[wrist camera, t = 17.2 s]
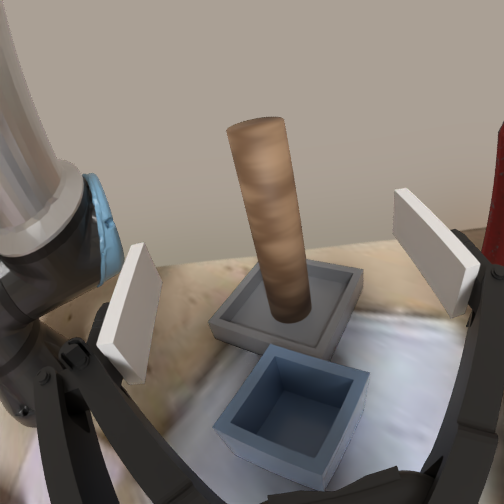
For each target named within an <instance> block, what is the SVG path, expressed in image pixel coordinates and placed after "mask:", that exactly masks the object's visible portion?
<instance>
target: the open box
mask: <svg viewBox="0 0 504 504" xmlns="http://www.w3.org/2000/svg"><path fill="white" fill-rule="evenodd" d="M369 376H370V373H369V372H366V371H362V370H358V369H354V368H350V367H347V366H343V365H339V364H336V363H332V362H329V361H325V360H322V359H318V358H315V357H312V356H308V355H305V354H301V353H298V352H295V351H292V350H288V349H285V348H282V347H279V346H276V345H273V344H270V345H269V346H268V348H267V349H266V351H265V352H264V354H263V355H262V357H261V358H260V360H259V361H258V363H257V364H256V366H255V367H254V369H253V370H252V372H251V373H250V375H249V376H248V378H247V379H246V380H245V382H244V383H243V385H242V386H241V388H240V389H239V391H238V392H237V393H236V395H235V396H234V398H233V399H232V400H231V402H230V403H229V405H228V406H227V407H226V409H225V410H224V412H223V413H222V414H221V416H220V417H219V419H218V420H217V421H216V423H215V424H214V425H213V427H212V428H213V429H214V430H215V431H216V433H217V434H218V435H219V436H220V437H221V439H222V440H223V441H224V442H225V444H226V445H227V446H228V447H229V448H230V449H231V451H232V452H233V453H234V454H235V455H236V456H238V457H240V458H242V459H244V460H246V461H248V462H250V463H253V464H255V465H257V466H259V467H261V468H263V469H266V470H268V471H270V472H272V473H275V474H277V475H279V476H282V477H284V478H286V479H289V480H291V481H294V482H296V483H299V484H301V485H304V486H306V487H309V488H312V489H314V490H317V491H325V489H326V487H327V486H328V484H329V482H330V480H331V478H332V476H333V474H334V472H335V471H336V469H337V467H338V465H339V463H340V461H341V459H342V457H343V455H344V453H345V451H346V449H347V446H348V444H349V442H350V440H351V438H352V436H353V434H354V431H355V429H356V427H357V425H358V423H359V420H360V418H361V416H362V413H363V411H364V406H365V401H366V395H367V389H368V382H369Z"/></svg>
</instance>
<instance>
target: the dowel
mask: <svg viewBox="0 0 504 504" xmlns="http://www.w3.org/2000/svg"><path fill="white" fill-rule="evenodd" d="M226 131H227V136H228V139H229V144H230V148H231V151H232V155H233V160H234V164H235V168H236V172H237V176H238V180H239V184H240V188H241V192H242V196H243V200H244V204H245V208H246V212H247V216H248V221H249V225H250V229H251V233H252V237H253V241H254V245H255V249H256V253H257V258H258V262H259V266H260V270H261V274H262V278H263V282H264V286H265V290H266V295H267V299H268V303H269V307H270V311H271V315H272V316H273V318H274V319H275V320H277V321H279V322H281V323H286V324H291V323H296V322H299V321H302V320H303V319H305V318H306V317H307V316H308V315H309V314H310V312H311V309H312V304H311V295H310V287H309V278H308V271H307V263H306V255H305V248H304V241H303V235H302V234H303V233H302V226H301V219H300V213H299V206H298V200H297V194H296V187H295V181H294V175H293V169H292V162H291V157H290V151H289V145H288V139H287V134H286V128H285V123H284V119H283V118H281V117H262V118H256V119H252V120H247V121H243V122H240V123H237V124H235V125H233V126H231V127H229V128H228V129H227V130H226Z"/></svg>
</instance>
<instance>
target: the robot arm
mask: <svg viewBox="0 0 504 504" xmlns="http://www.w3.org/2000/svg"><path fill="white" fill-rule="evenodd" d="M393 235H394V236H395V238H396V239H397V240H398V242H399V243H400V245H401V246H402V247H403V249H404V250H405V251H406V253H407V254H408V255H409V257H410V258H411V260H412V261H413V262H414V264H415V265H416V267H417V268H418V269H419V271H420V272H421V274H422V275H423V277H424V278H425V279H426V281H427V282H428V284H429V285H430V287H431V288H432V290H433V291H434V293H435V294H436V296H437V297H438V299H439V300H440V302H441V303H442V305H443V306H444V308H445V310H446V311H447V313H448V314H449V316H450V318H454V317H456V316H459V315H462V314H465V311H466V308H467V305H468V304H469V305H470V307H471V308H472V312H471V315H470V317H469V320H468V322H467V325H466V327H468V331H467V336H466V340H465V345H464V350H463V354H462V358H461V362H460V366H459V370H458V374H457V378H456V381H455V385H454V388H453V392H452V395H451V398H450V401H449V405H448V408H447V411H446V414H445V417H444V420H443V422H442V425H441V428H440V431H439V433H438V436H437V439H436V441H435V444H434V446H433V449H432V451H431V453H430V455H429V456H428V458H427V460H426V462H425V463H424V465H423V467H422V469H421V471H420V472H416V471H405V470H401V471H398V467H397V466H395V467H392V468H389V469H386V470H382V471H379V472H376V473H373V474H369V475H366V476H364V477H363V478H361V479H359V480H357V481H355V482H353V483H351V484H349V485H347V486H345V487H343V488H341V489H339V490H337V491H295V492H288V493H282V494H275V495H267V496H268V500H267V501H265V502H262V503H260V504H478V502H479V499H480V497H481V494H482V491H483V489H484V486H485V483H486V480H487V477H488V474H489V471H490V468H491V465H492V462H493V458H494V455H495V452H496V448H497V444H498V435H497V434H496V433H495V428H496V424H497V420H498V415H499V411H500V406H501V401H502V396H503V390H504V266H501V265H497V264H491V263H490V261H489V260H488V259H487V258H486V257H485V256H484V255H483V254H482V253H481V251H480V250H479V249H478V248H477V247H475V245H474V244H473V243H472V242H470V240H469V239H468V238H467V237H466V235H465V234H463V233H461V232H460V231H458V230H456V229H453V230H449V229H448V228H447V227H446V226H445V225H444V223H443V222H442V221H441V220H440V219H439V218H438V217H437V216H436V215H435V214H434V213H433V212H432V211H431V210H430V209H429V208H427V207H426V206H425V205H424V204H423V203H422V202H421V201H420V200H419V199H418V198H417V197H416V196H415V195H414V194H413V193H412V192H411V191H409V190H408V189H407V188H402V189H397V190H394V216H393ZM120 271H121V273H120V276H119V278H118V281H117V284H116V287H115V289H114V292H113V295H112V298H111V301H110V302H108V303H103V305H102V306H101V307H100V309H99V310H98V311H97V314H96V317H95V319H94V321H95V322H93V325H92V329H91V331H90V334H89V337H88V340H87V343H85V342H84V340H82V339H81V338H78V337H76V338H72V339H70V340H68V339H67V338H66V337H64V336H62V335H61V334H59V333H58V332H56V331H55V330H53V329H52V328H50V327H49V326H47V325H46V324H44V323H43V322H41V321H40V320H39V318H40V317H41V316H43V315H45V314H47V313H48V312H50V311H52V310H54V309H56V308H58V307H60V306H61V305H63V304H65V303H67V302H69V301H71V300H73V299H75V298H77V297H79V296H81V295H82V294H84V293H86V292H88V291H90V290H92V289H94V288H96V287H97V288H98V287H100V286H101V285H102V284H103V283H104V282H105V281H107V280H108V279H110V278H112V277H113V276H115V275H117V274H118V273H119V272H120ZM162 283H163V282H162V280H161V278H160V276H159V273H158V271H157V269H156V267H155V265H154V263H153V261H152V258H151V256H150V254H149V252H148V249H147V247H146V245H145V243H144V242H142V243H138V244H134V245H131V247H130V249H129V252H128V255H127V257H126V260H125V262H124V253H123V248H122V245H121V241H120V238H119V235H118V231H117V228H116V226H115V223H114V222H113V217H112V215H111V210H110V207H109V204H108V201H107V199H106V196H105V193H104V190H103V188H102V185H101V183H100V181H99V179H98V177H97V176H96V175H95V174H94V173H89V174H83V175H81V173H80V171H79V170H78V168H77V167H76V166H75V165H74V164H72V163H71V162H68V161H66V160H60V159H57V158H56V155H55V153H54V151H53V149H52V146H51V144H50V142H49V140H48V137H47V135H46V132H45V130H44V128H43V125H42V123H41V120H40V118H39V116H38V113H37V110H36V108H35V105H34V102H33V100H32V97H31V94H30V92H29V89H28V86H27V84H26V80H25V78H24V75H23V72H22V69H21V66H20V62H19V60H18V56H17V53H16V50H15V46H14V43H13V39H12V36H11V32H10V28H9V25H8V21H7V17H6V12H5V8H4V4H3V0H0V401H1V402H2V404H3V405H4V407H5V409H6V410H7V411H8V413H9V414H10V415H11V416H13V417H14V418H15V419H16V420H17V421H19V422H20V423H21V424H23V425H25V426H28V427H37V432H38V440H39V447H40V453H41V459H42V465H43V470H44V475H45V480H46V485H47V489H48V493H49V497H50V501H51V504H120V503H119V501H118V498H117V495H116V493H115V490H114V487H113V485H112V482H111V479H110V476H109V473H108V471H107V468H106V465H105V462H104V458H103V455H102V452H101V449H100V445H99V442H98V439H97V435H96V431H95V428H94V424H93V420H92V416H91V412H92V414H93V416H94V417H95V419H96V421H97V423H98V424H99V426H100V428H101V429H102V431H103V433H104V434H105V436H106V437H107V439H108V441H109V442H110V444H111V445H112V447H113V448H114V450H115V451H116V453H117V454H118V456H119V457H120V459H121V460H122V462H123V463H124V465H125V466H126V468H127V469H128V470H129V472H130V473H131V475H132V476H133V477H134V479H135V480H136V481H137V483H138V484H139V485H140V487H141V488H142V489H143V491H144V492H145V493H146V495H147V496H148V497H149V498H150V500H151V501H152V502H153V503H154V504H227V503H226V502H224V501H223V500H222V499H221V498H219V497H218V496H217V495H216V494H215V493H214V492H213V491H212V490H211V489H210V488H209V487H208V486H207V485H206V484H205V483H204V482H203V481H202V480H201V479H200V478H199V477H198V476H197V475H196V474H195V473H194V472H193V471H192V470H191V469H190V468H189V466H188V465H187V464H186V463H185V462H184V461H183V460H182V459H181V458H180V457H179V456H178V454H177V453H176V452H175V451H174V450H173V449H172V448H171V447H170V445H169V444H168V443H167V442H166V441H165V440H164V438H163V437H162V436H161V435H160V434H159V433H158V431H157V430H156V429H155V428H154V426H153V425H152V424H151V423H150V422H149V420H148V419H147V418H146V416H145V415H144V414H143V413H142V411H141V410H140V409H139V407H138V406H137V405H136V404H135V402H134V401H133V400H132V398H131V397H130V396H129V394H128V393H127V391H126V390H125V389H124V388H123V386H122V385H121V384H122V378H124V379H125V381H126V382H127V383H128V384H129V385H132V384H145V378H146V371H147V365H148V358H149V352H150V346H151V340H152V335H153V329H154V324H155V318H156V313H157V308H158V302H159V297H160V292H161V287H162ZM90 410H91V412H90Z"/></svg>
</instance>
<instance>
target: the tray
mask: <svg viewBox="0 0 504 504" xmlns="http://www.w3.org/2000/svg"><path fill="white" fill-rule="evenodd" d="M306 263H307V271H308V278H309V287H310V295H311V304H312V309H311V312H310V314H309V315H308V316H307V317H306V318H305V319H303V320H302V321H299V322H296V323H291V324H286V323H281V322H279V321H277V320H275V319H274V318H273V316H272V315H271V311H270V307H269V303H268V299H267V295H266V290H265V286H264V282H263V278H262V274H261V270H260V266H259V262H257V264H256V265H255V266H254V267H253V268H252V270H251V271H250V272H249V273H248V274H247V276H246V277H245V278H244V279H243V280H242V282H241V283H240V284H239V285H238V286H237V288H236V289H235V290H234V291H233V292H232V294H231V295H230V296H229V297H228V298H227V300H226V301H225V302H224V303H223V304H222V306H221V307H220V308H219V309H218V310H217V312H216V313H215V314H214V315H213V316H212V317H211V319H210V320H209V321H208V324H209V326H210V328H211V331H212V333H213V335H214V337H215V338H216V339H218V340H221V341H223V342H226V343H229V344H231V345H234V346H237V347H239V348H242V349H245V350H248V351H251V352H253V353H256V354H259V355H263V354H264V352H265V351H266V349H267V348H268V346H269V345H270V344H273V345H276V346H279V347H282V348H285V349H288V350H292V351H295V352H298V353H301V354H305V355H308V356H312V357H315V358H318V359H322V360H325V361H330V359H331V357H332V355H333V353H334V351H335V349H336V347H337V345H338V343H339V340H340V338H341V336H342V334H343V332H344V330H345V328H346V325H347V323H348V321H349V319H350V317H351V314H352V312H353V310H354V307H355V305H356V303H357V301H358V298H359V296H360V294H361V291H362V289H363V269H358V268H353V267H347V266H342V265H336V264H330V263H325V262H319V261H314V260H308V259H306Z"/></svg>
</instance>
